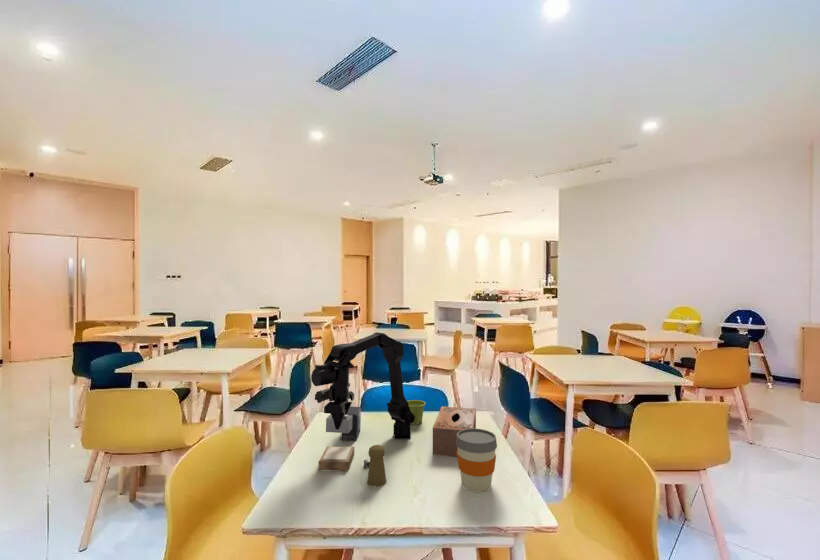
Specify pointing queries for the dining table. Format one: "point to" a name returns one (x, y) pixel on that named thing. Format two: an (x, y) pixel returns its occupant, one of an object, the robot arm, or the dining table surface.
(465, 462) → the reusable coffee cup
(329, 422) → the housing
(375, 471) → the cork
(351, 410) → the small box
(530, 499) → the dining table surface
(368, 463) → the loose bolt
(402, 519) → the dining table surface
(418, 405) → the plant pot
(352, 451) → the picture frame
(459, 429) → the tissue box cover
